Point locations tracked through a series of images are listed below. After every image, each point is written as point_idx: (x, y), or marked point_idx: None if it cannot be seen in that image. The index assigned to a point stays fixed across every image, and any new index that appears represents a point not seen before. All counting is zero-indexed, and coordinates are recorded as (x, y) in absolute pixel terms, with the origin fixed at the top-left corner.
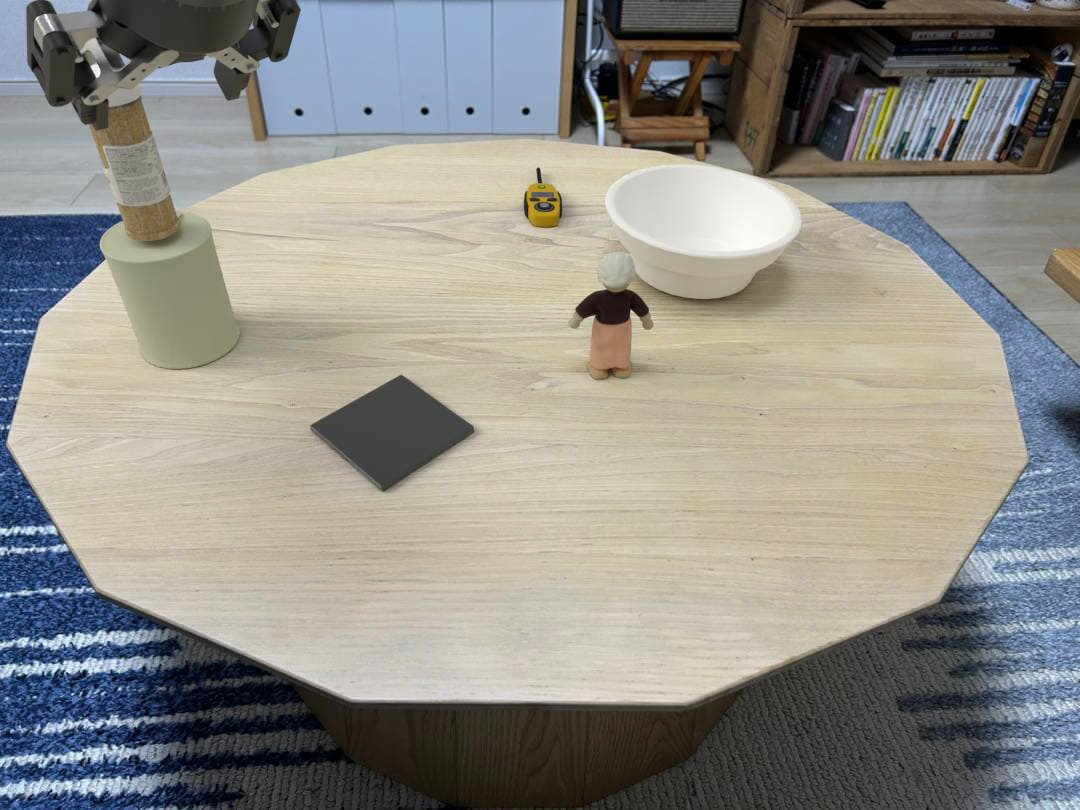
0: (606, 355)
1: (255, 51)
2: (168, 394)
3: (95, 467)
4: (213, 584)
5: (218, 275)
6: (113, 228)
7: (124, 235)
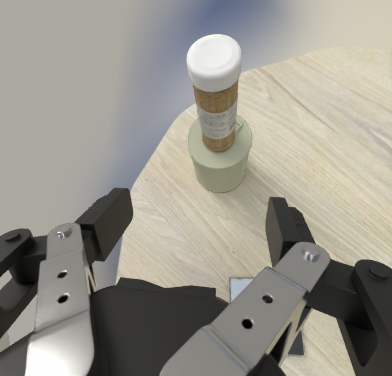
0: None
1: (318, 309)
2: (191, 201)
3: (145, 226)
4: None
5: (240, 169)
6: None
7: None
